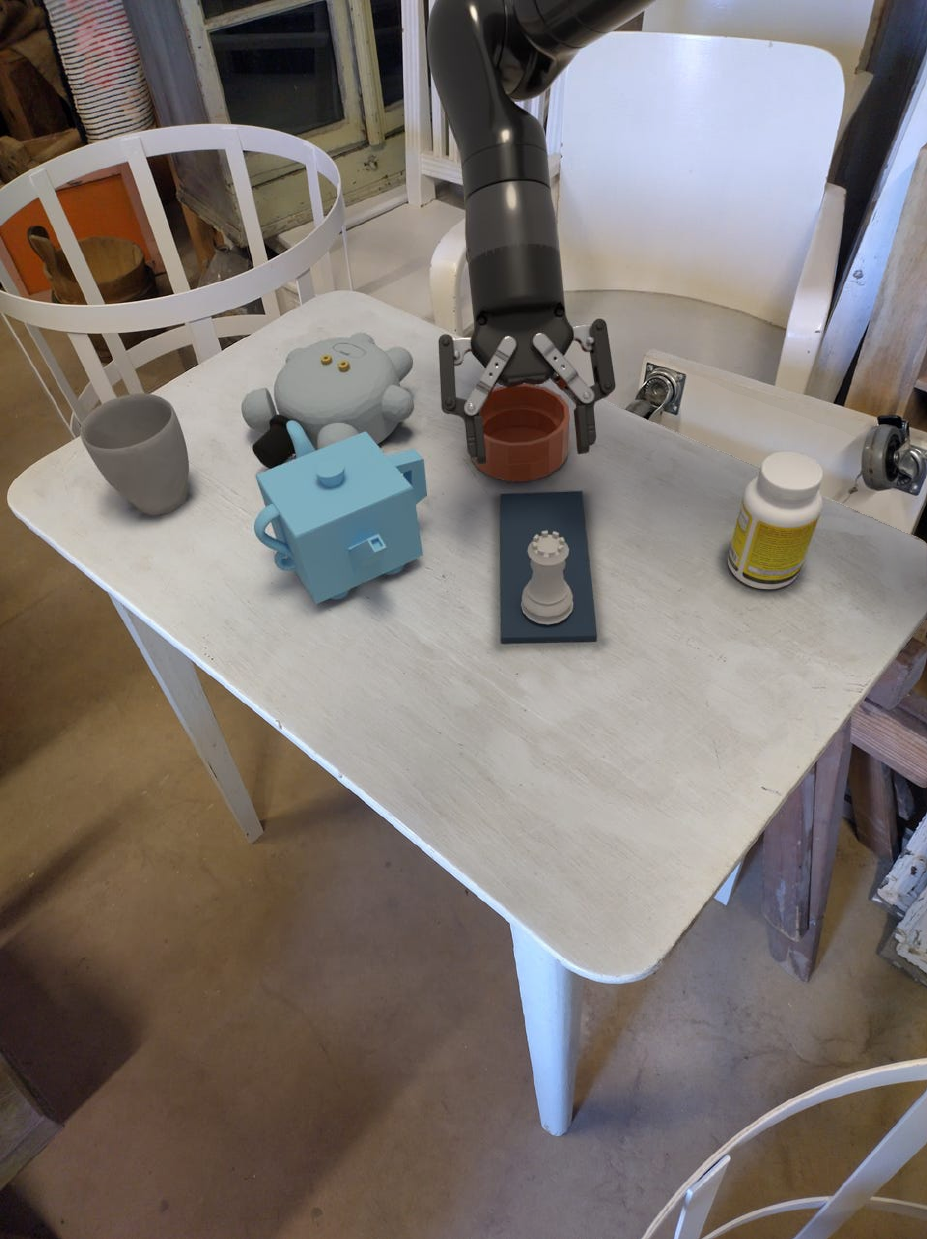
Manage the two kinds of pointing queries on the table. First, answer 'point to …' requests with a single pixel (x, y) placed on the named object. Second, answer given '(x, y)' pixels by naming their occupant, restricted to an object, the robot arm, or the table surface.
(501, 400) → the bowl
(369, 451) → the teapot
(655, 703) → the table surface
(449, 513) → the table surface
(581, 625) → the rectangular board
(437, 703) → the table surface
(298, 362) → the figurine
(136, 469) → the mug
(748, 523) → the pill bottle
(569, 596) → the rook chess piece
